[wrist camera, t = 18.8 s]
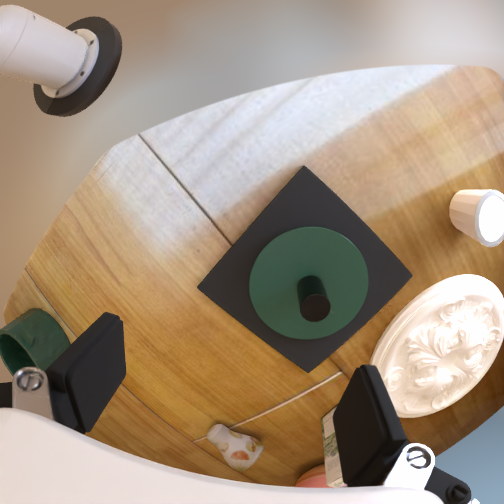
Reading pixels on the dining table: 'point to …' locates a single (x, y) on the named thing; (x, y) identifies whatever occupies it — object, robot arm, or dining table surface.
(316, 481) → the vase
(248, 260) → the mat
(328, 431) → the syrup box
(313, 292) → the lid
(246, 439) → the mug
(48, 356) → the pot
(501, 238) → the white lidded cup
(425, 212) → the dining table surface
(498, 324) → the ceiling medallion
